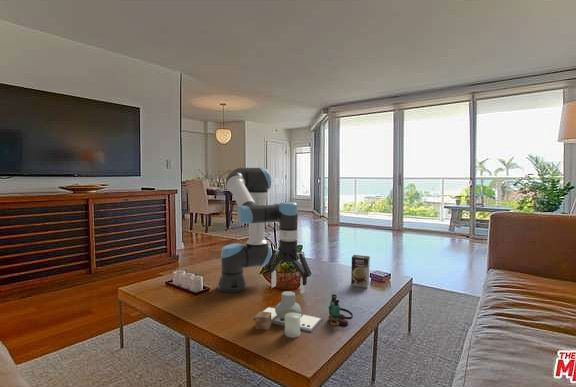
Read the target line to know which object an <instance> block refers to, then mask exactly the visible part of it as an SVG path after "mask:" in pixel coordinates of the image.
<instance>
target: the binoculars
mask: <svg viewBox="0 0 576 387" xmlns="http://www.w3.org/2000/svg"><path fill="white" fill-rule="evenodd" d="M339 302H340V300H339V299H337V294H333V293H332V294H331V299H330V302H329V306H328V315H329V316H328V317H327V318H328V319H327V320H328V321H330V326H333V327H334V326H336V325H344V326H348V325H349V321H348V320H352V319H353V317H354V316H353V313H352V311H350V310H348V309H346V308H343V307H341V306H340V304H339ZM341 311H343V312H346V313H347V314H349V315H350V316H345V315H344V314H341Z"/></svg>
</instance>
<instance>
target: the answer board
mask: <svg viewBox="0 0 576 387" xmlns="http://www.w3.org/2000/svg"><path fill="white" fill-rule="evenodd" d="M275 308H276V307H272V306H268V307H267V308H265V309H263V310H262V311H261V312H271V324H274V325H278V326H282V327H285V319H283V318H280V317H279V316H278V315H277V314H276V312H275ZM253 319H254V320H256V315H255V316H254V318H253ZM322 321H323V317H318V316H313V315H309V314H305V313H300V331H303V332H308V333H312V332H313V331H314V330H315V329H316V328H317V326H319V324H321V322H322Z"/></svg>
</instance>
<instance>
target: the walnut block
mask: <svg viewBox="0 0 576 387" xmlns="http://www.w3.org/2000/svg"><path fill="white" fill-rule="evenodd" d="M255 316H256V319H255V330H264V331H269V329H270V327H271V326H272V323H271V312H262V311H261V310H260V311H259V312H258V313H257V314H256V315H255Z"/></svg>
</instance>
